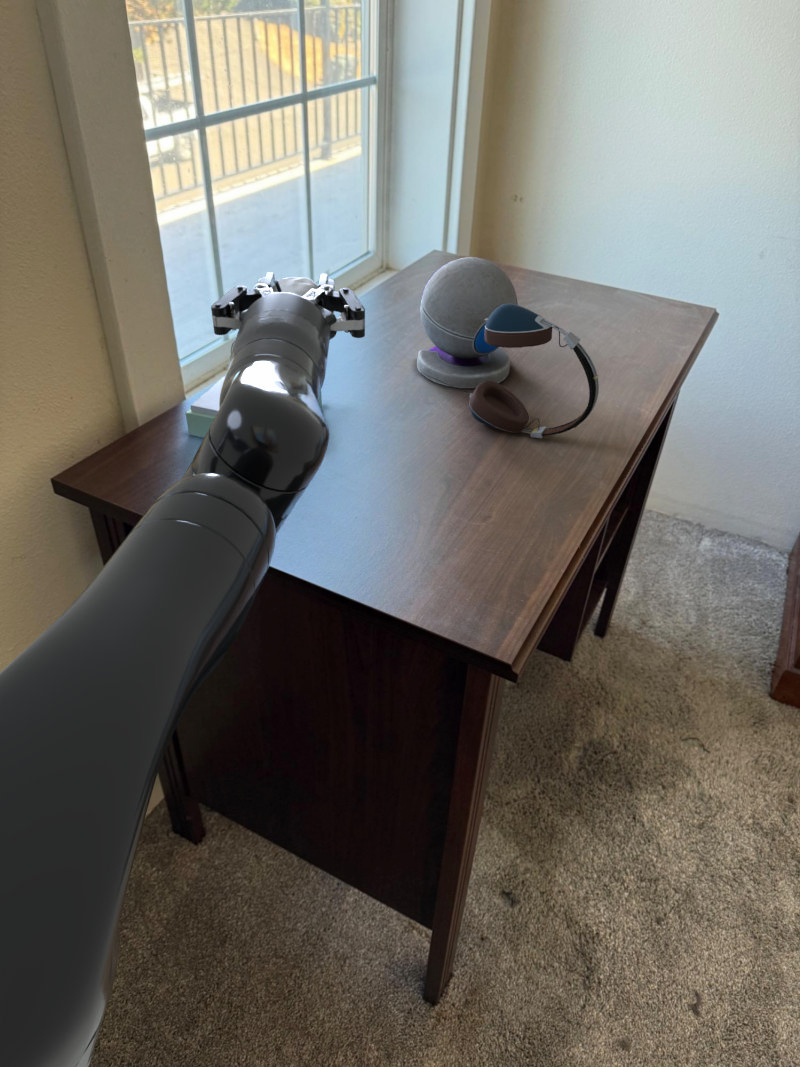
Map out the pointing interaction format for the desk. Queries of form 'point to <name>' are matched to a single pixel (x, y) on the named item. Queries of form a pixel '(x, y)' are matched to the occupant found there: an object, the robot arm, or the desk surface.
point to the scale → (208, 410)
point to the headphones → (499, 403)
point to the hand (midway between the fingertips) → (298, 283)
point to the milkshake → (294, 285)
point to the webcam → (464, 323)
